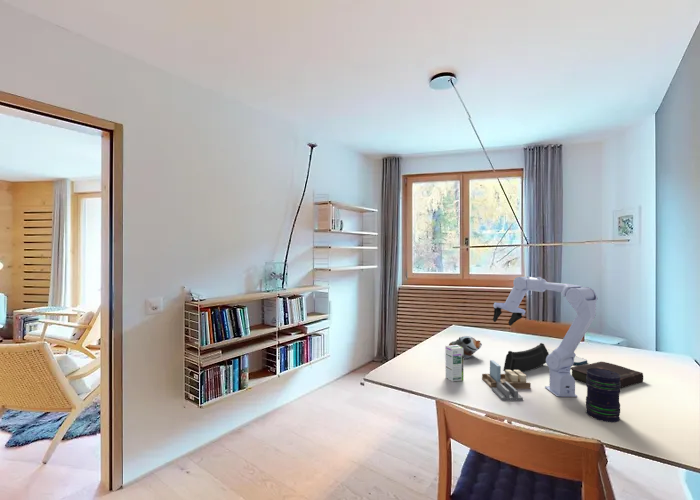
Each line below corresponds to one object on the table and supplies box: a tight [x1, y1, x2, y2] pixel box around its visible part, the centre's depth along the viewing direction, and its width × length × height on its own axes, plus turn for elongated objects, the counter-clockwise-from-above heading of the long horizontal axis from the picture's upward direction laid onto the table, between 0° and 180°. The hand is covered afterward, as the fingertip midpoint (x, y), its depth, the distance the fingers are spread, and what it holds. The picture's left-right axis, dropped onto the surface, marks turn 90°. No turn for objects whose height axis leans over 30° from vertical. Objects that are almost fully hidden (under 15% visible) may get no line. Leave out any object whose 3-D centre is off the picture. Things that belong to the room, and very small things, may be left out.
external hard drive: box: [546, 348, 588, 366], centre depth 193 cm, size 24×12×2 cm, turn 29°
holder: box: [491, 381, 524, 401], centre depth 144 cm, size 10×8×4 cm
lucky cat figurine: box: [447, 335, 483, 360], centre depth 194 cm, size 15×12×14 cm
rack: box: [481, 373, 532, 390], centre depth 156 cm, size 11×16×2 cm
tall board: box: [489, 359, 502, 382], centre depth 156 cm, size 8×1×8 cm, turn 0°
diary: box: [570, 361, 644, 389], centre depth 162 cm, size 19×25×5 cm
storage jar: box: [585, 368, 622, 423], centre depth 127 cm, size 10×10×15 cm
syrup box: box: [444, 345, 464, 383], centre depth 161 cm, size 6×6×14 cm
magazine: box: [502, 342, 549, 373], centre depth 174 cm, size 17×3×30 cm
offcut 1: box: [504, 370, 518, 382], centre depth 156 cm, size 7×2×4 cm, turn 0°
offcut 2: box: [513, 370, 527, 383], centre depth 156 cm, size 7×2×4 cm, turn 0°
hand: (501, 322), depth 173 cm, fingers open, 7 cm apart
